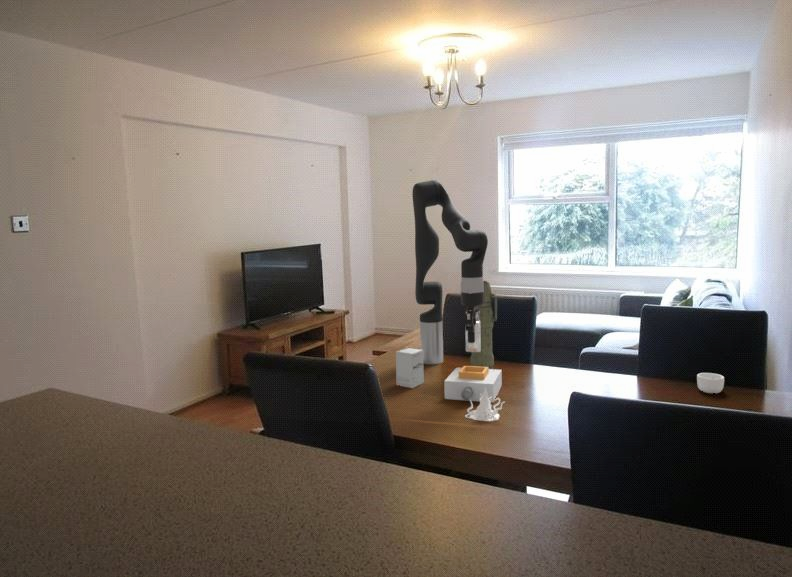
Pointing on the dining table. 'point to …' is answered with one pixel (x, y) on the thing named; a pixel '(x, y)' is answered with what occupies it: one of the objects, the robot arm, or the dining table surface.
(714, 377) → the teacup
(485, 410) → the tentacle sculpture
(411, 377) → the supplement box
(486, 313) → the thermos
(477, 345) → the shiny metal cylinder
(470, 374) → the white square box
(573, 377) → the dining table surface
